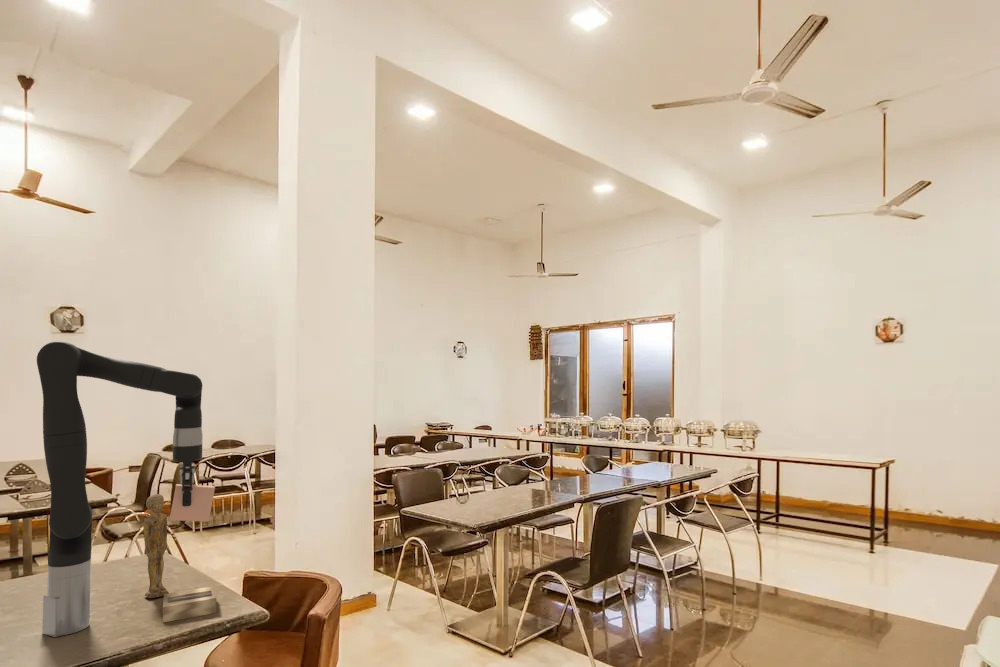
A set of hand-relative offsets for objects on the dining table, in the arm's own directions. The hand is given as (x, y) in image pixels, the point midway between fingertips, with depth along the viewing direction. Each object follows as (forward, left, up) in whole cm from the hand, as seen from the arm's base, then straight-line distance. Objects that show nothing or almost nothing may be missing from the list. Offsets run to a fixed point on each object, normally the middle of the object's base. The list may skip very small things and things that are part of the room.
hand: (186, 504), depth 172 cm
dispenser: (0, -2, -29) cm, 29 cm away
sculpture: (+3, +18, -29) cm, 35 cm away
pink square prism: (+1, -1, -4) cm, 4 cm away
